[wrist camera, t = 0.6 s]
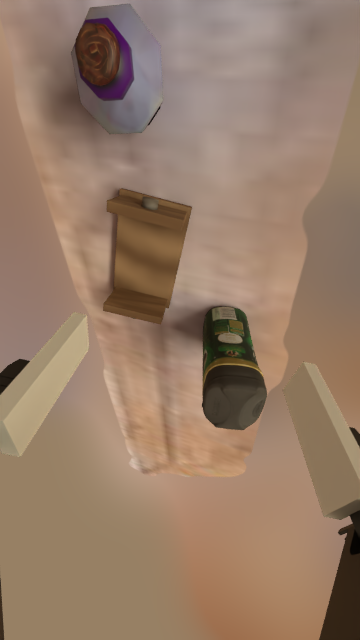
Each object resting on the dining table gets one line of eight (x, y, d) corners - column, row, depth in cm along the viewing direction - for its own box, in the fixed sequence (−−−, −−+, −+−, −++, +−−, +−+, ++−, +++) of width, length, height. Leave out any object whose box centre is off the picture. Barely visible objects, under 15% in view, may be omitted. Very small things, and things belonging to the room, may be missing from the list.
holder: (122, 185, 31) (103, 189, 25) (192, 203, 32) (189, 212, 26) (115, 293, 41) (99, 315, 35) (168, 306, 42) (162, 330, 36)
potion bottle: (152, 17, 23) (112, -98, 13) (186, 120, 27) (174, 93, 17) (85, 70, 25) (8, 8, 15) (125, 157, 30) (84, 151, 20)
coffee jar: (240, 347, 45) (258, 439, 30) (201, 344, 46) (198, 433, 30) (250, 305, 40) (278, 392, 25) (205, 302, 40) (205, 385, 25)
